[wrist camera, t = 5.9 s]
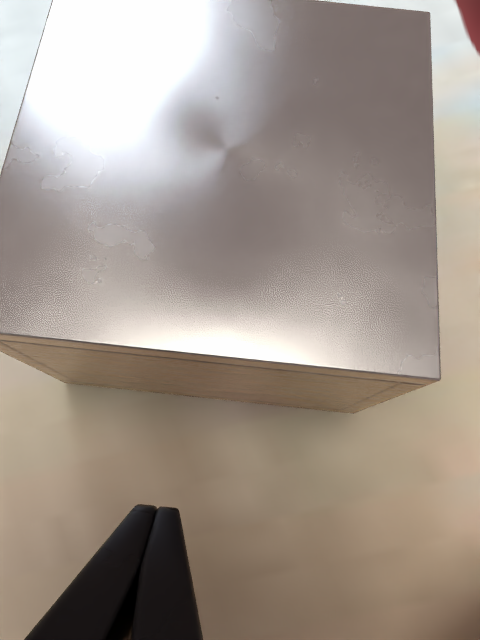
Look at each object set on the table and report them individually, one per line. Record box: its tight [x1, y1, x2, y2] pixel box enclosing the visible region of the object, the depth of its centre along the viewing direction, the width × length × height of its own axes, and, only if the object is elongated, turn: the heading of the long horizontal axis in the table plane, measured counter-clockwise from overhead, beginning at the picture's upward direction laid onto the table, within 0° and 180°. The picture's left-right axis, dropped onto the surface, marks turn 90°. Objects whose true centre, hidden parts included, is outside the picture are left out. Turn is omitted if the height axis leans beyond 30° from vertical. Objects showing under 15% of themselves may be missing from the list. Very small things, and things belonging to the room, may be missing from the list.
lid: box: [0, 0, 441, 385], centre depth 15 cm, size 14×14×1 cm
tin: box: [0, 340, 426, 413], centre depth 19 cm, size 13×14×8 cm
